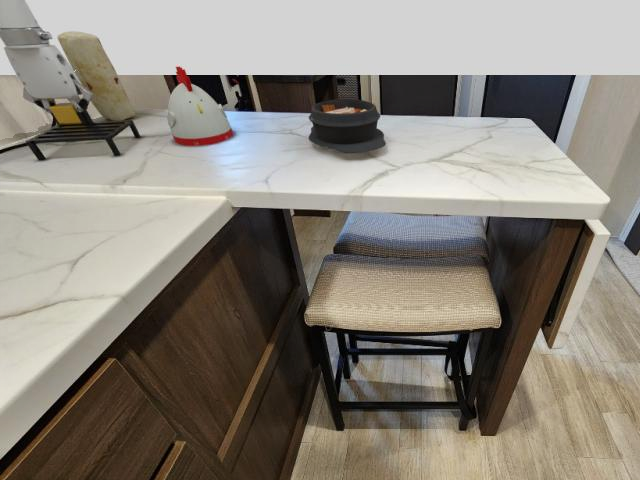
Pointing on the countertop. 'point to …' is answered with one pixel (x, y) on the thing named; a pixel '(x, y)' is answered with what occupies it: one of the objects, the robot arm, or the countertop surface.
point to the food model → (96, 74)
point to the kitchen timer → (195, 115)
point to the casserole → (346, 126)
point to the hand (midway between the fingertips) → (78, 128)
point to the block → (65, 113)
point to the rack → (82, 134)
